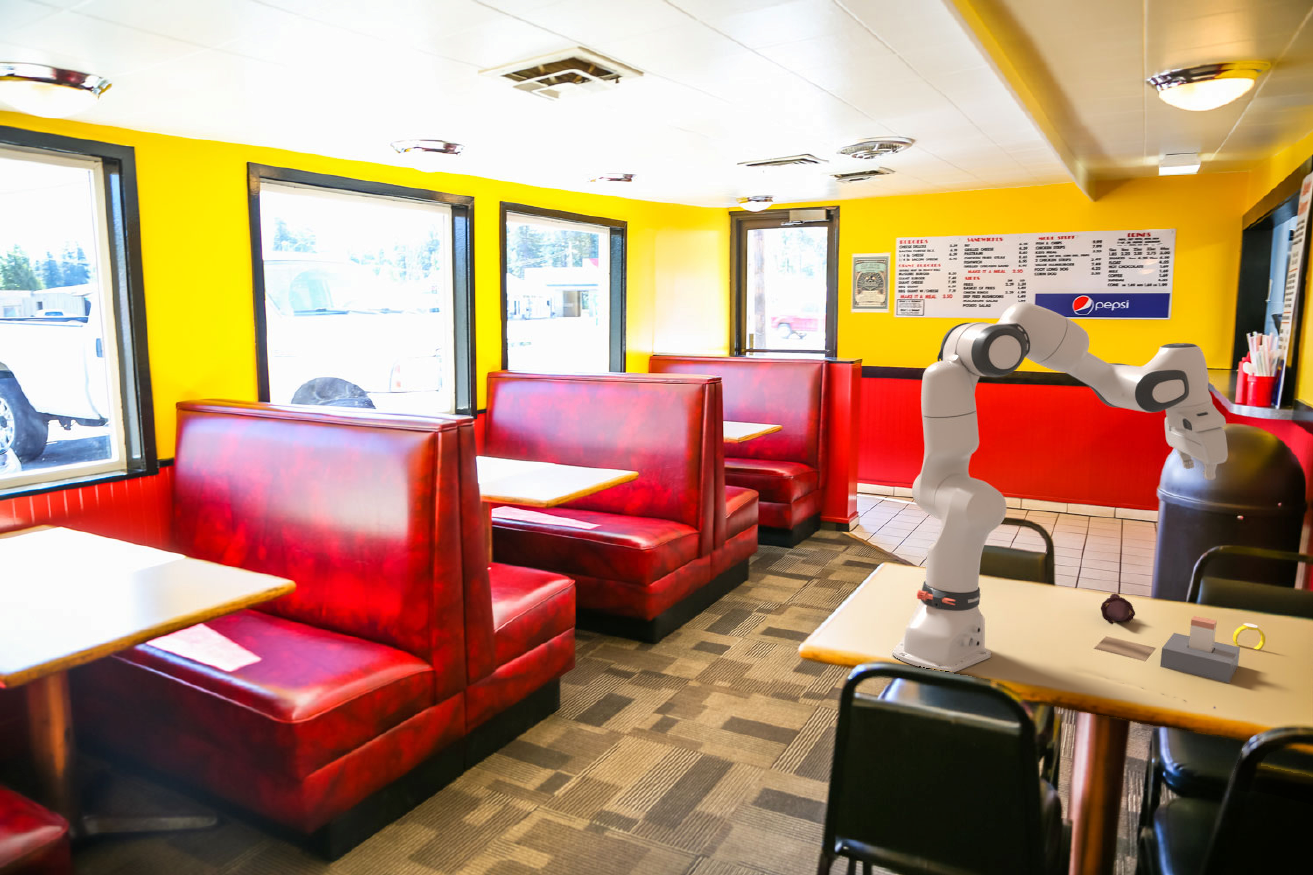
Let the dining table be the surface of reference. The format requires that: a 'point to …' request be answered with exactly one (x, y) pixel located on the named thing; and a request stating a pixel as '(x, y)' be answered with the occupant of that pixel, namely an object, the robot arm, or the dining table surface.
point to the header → (1200, 659)
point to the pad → (1125, 648)
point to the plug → (1202, 634)
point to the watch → (1250, 627)
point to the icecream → (1117, 609)
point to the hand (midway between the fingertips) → (1199, 473)
